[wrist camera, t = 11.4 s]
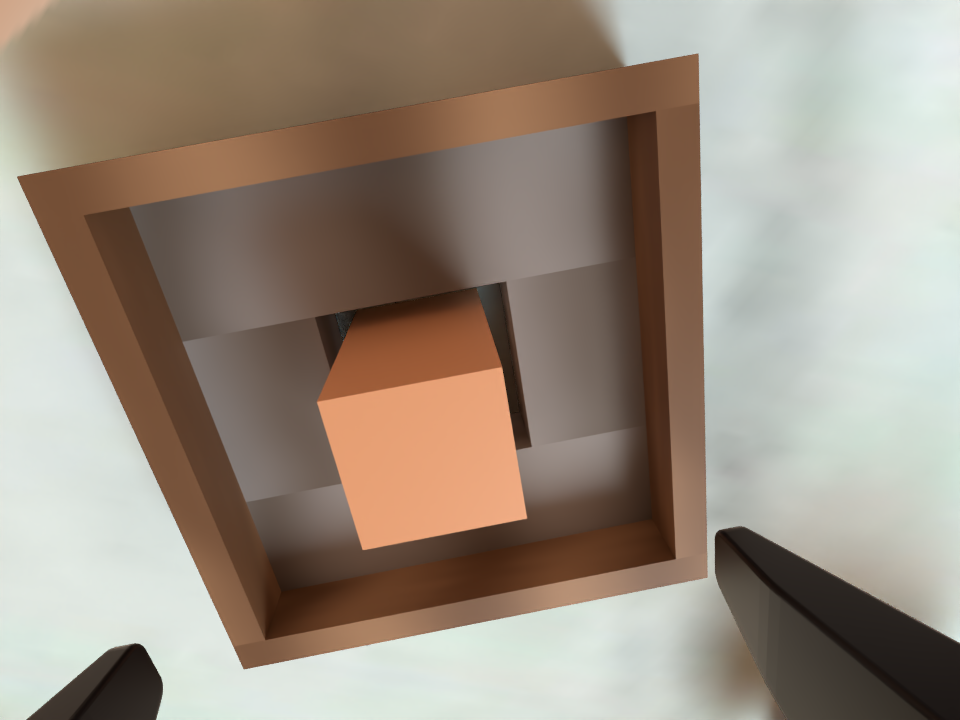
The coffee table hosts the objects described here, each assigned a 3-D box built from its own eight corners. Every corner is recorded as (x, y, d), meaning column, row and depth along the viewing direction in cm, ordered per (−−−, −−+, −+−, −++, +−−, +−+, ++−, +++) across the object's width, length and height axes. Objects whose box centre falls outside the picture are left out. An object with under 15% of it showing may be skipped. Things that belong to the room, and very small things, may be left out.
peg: (384, 416, 20) (363, 550, 13) (356, 310, 18) (316, 401, 12) (495, 395, 20) (527, 518, 13) (476, 288, 18) (502, 367, 12)
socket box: (279, 567, 22) (243, 669, 17) (123, 167, 16) (16, 176, 12) (654, 494, 22) (707, 577, 18) (629, 76, 16) (698, 53, 12)
